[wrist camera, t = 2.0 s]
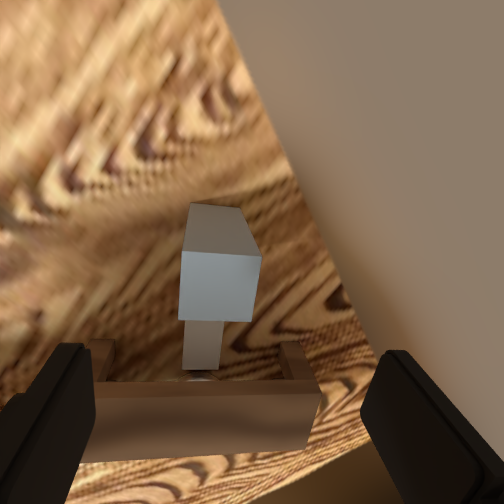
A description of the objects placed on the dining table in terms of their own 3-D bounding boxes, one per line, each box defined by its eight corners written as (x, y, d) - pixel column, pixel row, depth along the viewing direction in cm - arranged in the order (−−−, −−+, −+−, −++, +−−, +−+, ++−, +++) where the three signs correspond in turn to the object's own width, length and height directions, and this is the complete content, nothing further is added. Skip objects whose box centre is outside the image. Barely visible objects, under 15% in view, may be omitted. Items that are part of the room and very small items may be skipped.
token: (210, 408, 33) (211, 420, 31) (166, 401, 31) (164, 413, 30) (227, 375, 31) (229, 387, 30) (182, 366, 30) (181, 378, 28)
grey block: (190, 202, 23) (181, 250, 14) (240, 207, 24) (262, 256, 15) (180, 360, 29) (169, 466, 20) (220, 360, 30) (227, 462, 21)
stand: (286, 392, 33) (304, 449, 27) (94, 396, 29) (67, 464, 23) (299, 341, 31) (322, 393, 25) (90, 339, 27) (58, 399, 21)
